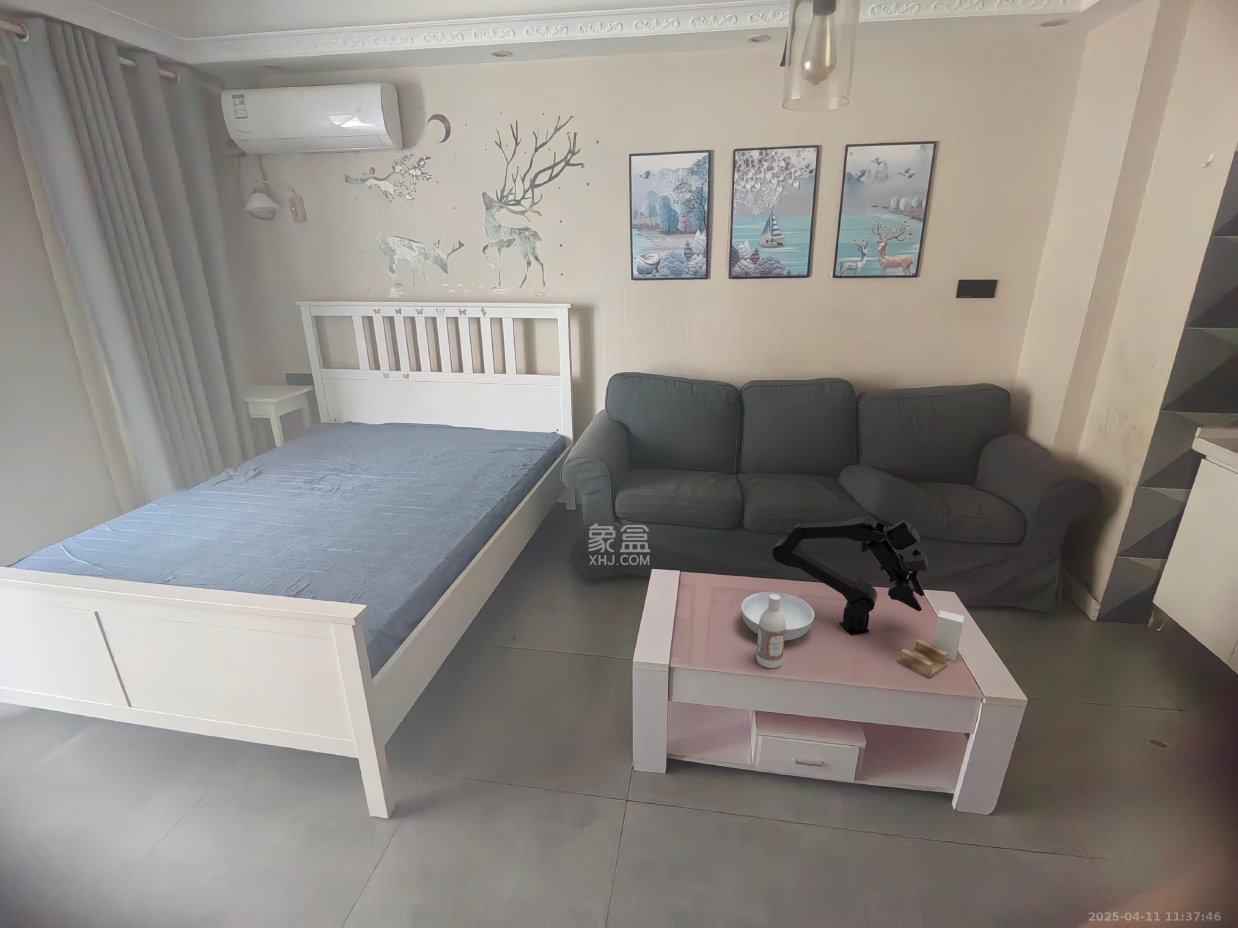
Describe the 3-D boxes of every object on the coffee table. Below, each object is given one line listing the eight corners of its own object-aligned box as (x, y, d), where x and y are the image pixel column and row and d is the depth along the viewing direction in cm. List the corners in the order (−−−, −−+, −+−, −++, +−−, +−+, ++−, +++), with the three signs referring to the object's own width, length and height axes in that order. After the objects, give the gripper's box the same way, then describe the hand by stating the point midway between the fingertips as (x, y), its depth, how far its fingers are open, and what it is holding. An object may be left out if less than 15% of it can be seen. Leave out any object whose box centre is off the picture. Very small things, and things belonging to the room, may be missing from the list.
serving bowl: (740, 607, 194) (741, 588, 192) (809, 614, 190) (811, 595, 188) (739, 645, 175) (740, 624, 173) (815, 654, 171) (817, 632, 169)
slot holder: (897, 661, 167) (899, 649, 166) (915, 649, 172) (917, 638, 171) (929, 678, 160) (931, 666, 159) (947, 665, 165) (949, 653, 164)
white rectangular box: (931, 653, 171) (938, 616, 167) (932, 647, 174) (939, 609, 170) (955, 660, 168) (963, 622, 164) (956, 653, 171) (964, 616, 167)
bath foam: (763, 670, 163) (768, 604, 157) (751, 655, 170) (756, 591, 164) (786, 667, 165) (793, 601, 159) (774, 652, 171) (780, 588, 165)
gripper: (910, 557, 160) (947, 606, 159) (916, 531, 176) (950, 576, 174) (872, 575, 166) (908, 623, 165) (882, 549, 182) (914, 592, 180)
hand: (921, 602), depth 171 cm, fingers open, 9 cm apart
